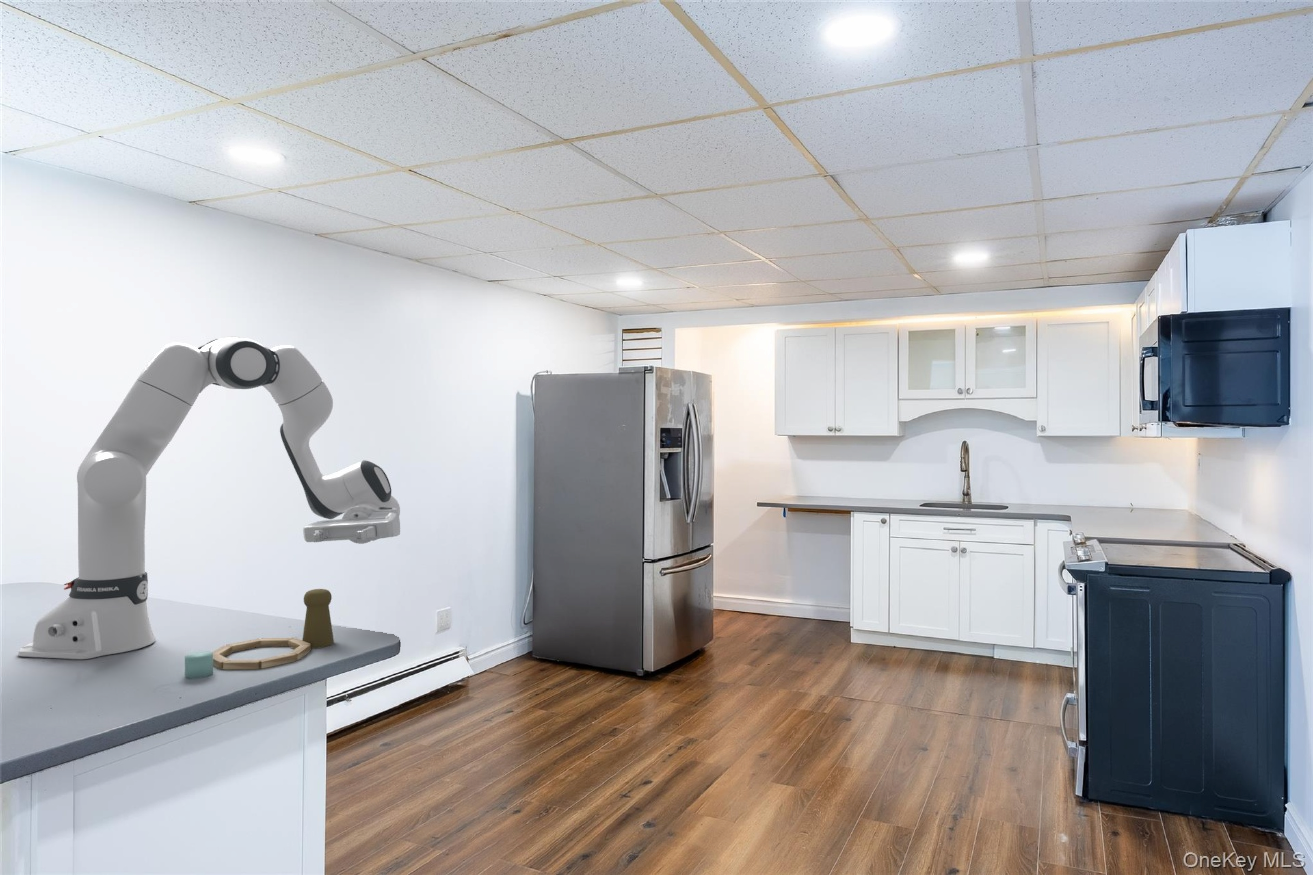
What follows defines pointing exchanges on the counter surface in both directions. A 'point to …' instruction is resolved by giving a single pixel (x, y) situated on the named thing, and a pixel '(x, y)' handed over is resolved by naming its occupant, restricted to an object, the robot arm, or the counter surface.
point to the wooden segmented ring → (225, 663)
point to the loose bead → (199, 665)
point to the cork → (318, 618)
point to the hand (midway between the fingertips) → (338, 537)
